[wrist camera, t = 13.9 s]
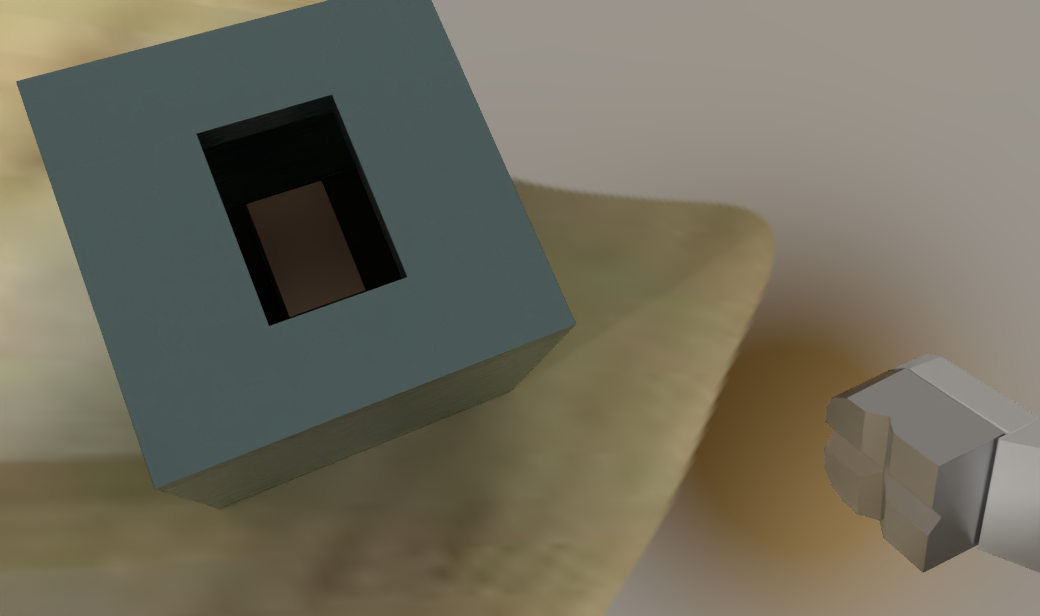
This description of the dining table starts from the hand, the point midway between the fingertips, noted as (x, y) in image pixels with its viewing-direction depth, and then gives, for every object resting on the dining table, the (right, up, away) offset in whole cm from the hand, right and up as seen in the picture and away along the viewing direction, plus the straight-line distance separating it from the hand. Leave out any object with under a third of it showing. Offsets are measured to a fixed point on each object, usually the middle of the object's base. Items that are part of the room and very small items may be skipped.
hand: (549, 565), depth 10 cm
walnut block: (-9, +3, +25) cm, 26 cm away
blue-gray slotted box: (-8, +3, +25) cm, 26 cm away
